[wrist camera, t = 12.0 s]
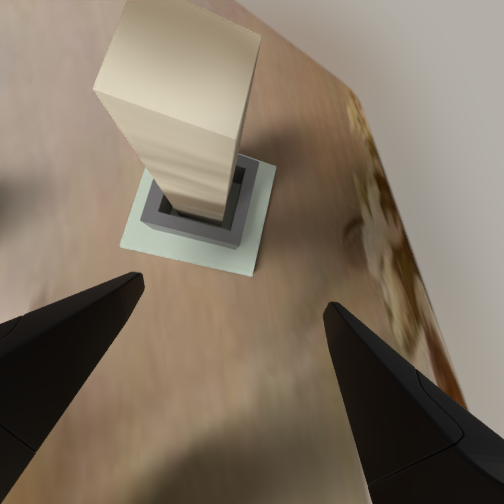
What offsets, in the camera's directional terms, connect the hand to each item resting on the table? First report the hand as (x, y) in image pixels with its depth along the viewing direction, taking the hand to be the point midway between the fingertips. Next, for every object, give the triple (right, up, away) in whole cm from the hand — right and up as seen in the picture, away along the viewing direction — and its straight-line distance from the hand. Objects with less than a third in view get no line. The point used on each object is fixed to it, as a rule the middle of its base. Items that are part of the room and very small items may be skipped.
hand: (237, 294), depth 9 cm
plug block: (-4, +7, +9) cm, 12 cm away
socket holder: (-4, +7, +10) cm, 13 cm away
